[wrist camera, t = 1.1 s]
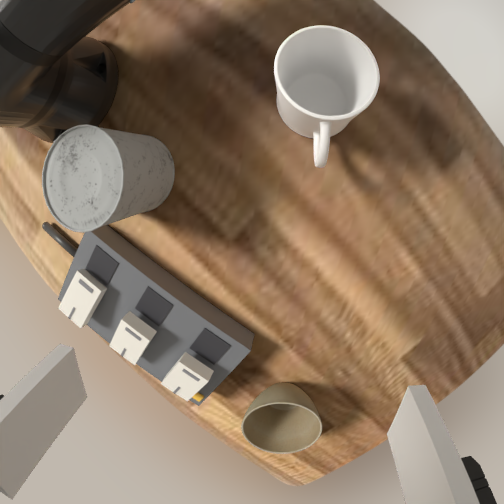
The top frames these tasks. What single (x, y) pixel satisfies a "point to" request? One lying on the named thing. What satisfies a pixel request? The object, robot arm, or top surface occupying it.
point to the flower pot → (282, 420)
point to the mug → (323, 83)
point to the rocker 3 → (187, 377)
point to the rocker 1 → (82, 297)
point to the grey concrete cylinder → (104, 176)
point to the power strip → (155, 308)
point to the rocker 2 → (132, 337)
